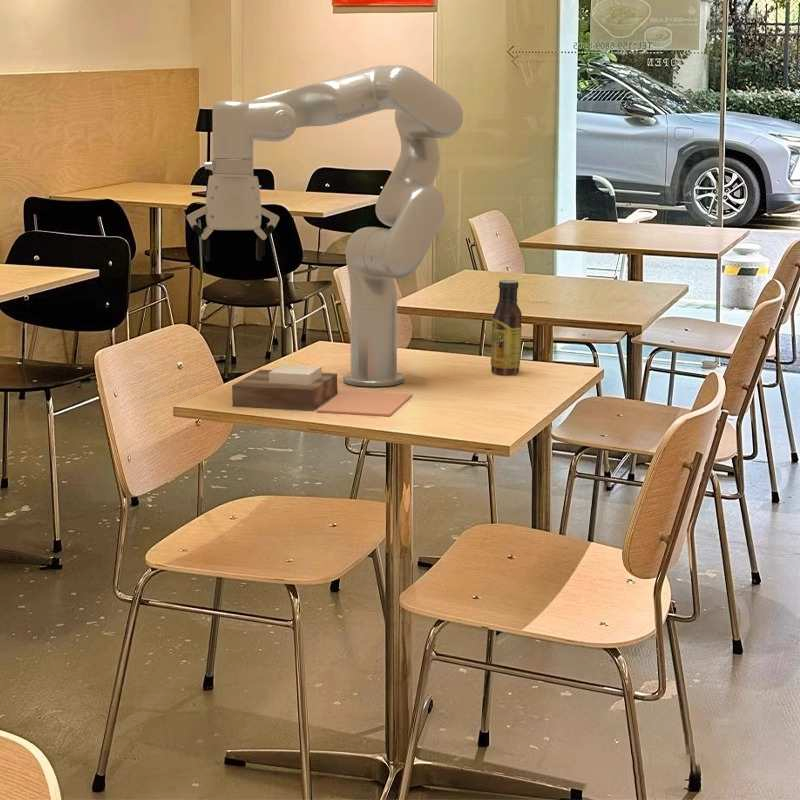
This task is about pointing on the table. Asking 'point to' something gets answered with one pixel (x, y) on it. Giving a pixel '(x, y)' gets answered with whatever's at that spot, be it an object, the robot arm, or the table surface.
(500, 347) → the sauce bottle
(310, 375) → the cream block
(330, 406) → the mat
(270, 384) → the deck
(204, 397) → the table surface
